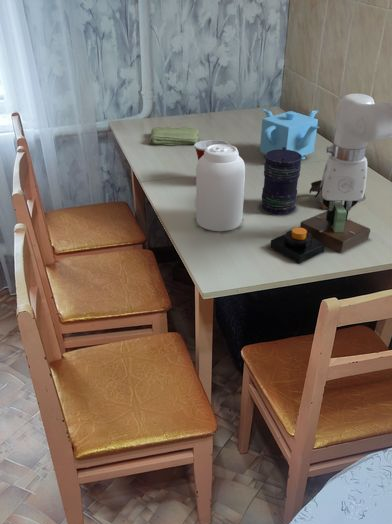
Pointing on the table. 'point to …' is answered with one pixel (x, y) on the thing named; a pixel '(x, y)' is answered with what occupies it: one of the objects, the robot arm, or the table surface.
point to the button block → (297, 247)
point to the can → (220, 188)
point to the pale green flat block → (339, 217)
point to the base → (335, 240)
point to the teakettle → (289, 132)
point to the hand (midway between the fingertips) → (335, 222)
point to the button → (299, 233)
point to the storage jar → (280, 181)
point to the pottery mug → (315, 188)
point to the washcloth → (174, 135)
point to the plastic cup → (202, 146)
